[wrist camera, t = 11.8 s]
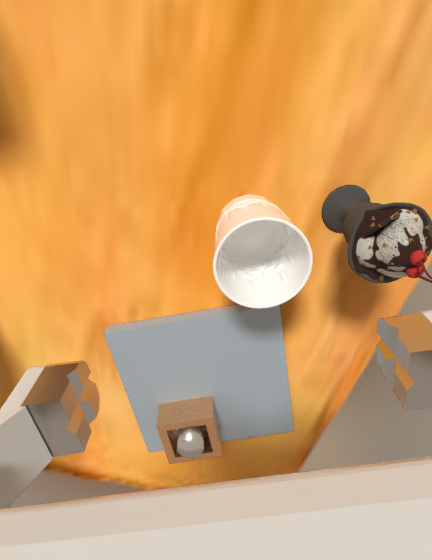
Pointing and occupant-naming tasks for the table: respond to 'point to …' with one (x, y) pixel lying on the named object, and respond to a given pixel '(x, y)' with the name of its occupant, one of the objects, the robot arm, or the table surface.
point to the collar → (189, 416)
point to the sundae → (380, 234)
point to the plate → (207, 368)
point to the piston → (190, 441)
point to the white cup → (259, 253)
